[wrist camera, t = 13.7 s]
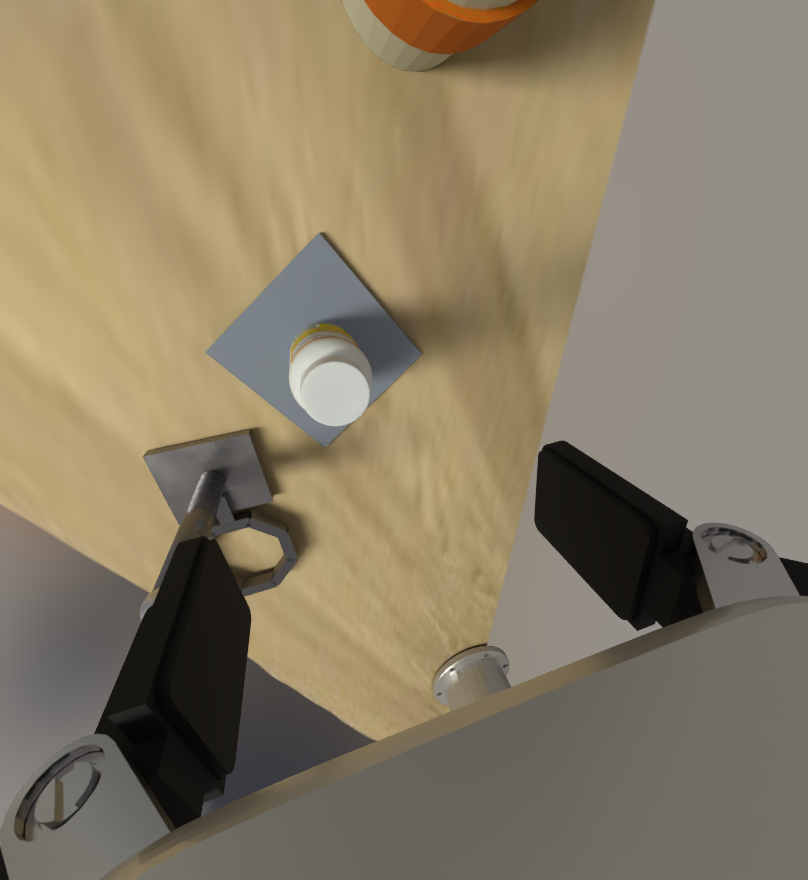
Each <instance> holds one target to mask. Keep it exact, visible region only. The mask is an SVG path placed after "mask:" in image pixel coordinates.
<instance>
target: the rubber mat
mask: <svg viewBox="0 0 808 880" xmlns="http://www.w3.org/2000/svg"><path fill="white" fill-rule="evenodd" d="M319 322H326V323H332V324H335V325H338V326H340V327H341V328H343V329H344V330H345V331H346V332H347V333H348V334H349V335H350V336H351V337H352V339H353V340H354V341H355V343H356V344H357V345H358V347H359V348H360V350H361V351H362V352H363V354H364V355H365V357H366V358H367V360H368V362H369V364H370V367H371V371H372V388H371V392H370V400H369V403H368V406H369V405H370V404H371V403H372V402H373V401H374V400H375V399H376V398H377V397H378V396H379V395H380V394H381V393H382V392H383V391H384V390H386V389H387V388H388V387H389V386H390V385H391V384H392V383H393V382H394V381H395V380H396V379H397V378H398V377H399V376H400V375H401V374H402V373H403V372H404V371H405V370H406V369H407V368H408V367H410V366H411V365H412V364H413V363H414V362H415V361H416V360H417V359H418V358H419V357H420V356H421V355H422V354H421V353H420V352H419V350H418V349H417V348H416V347H415V346H414V344H413V343H412V342H411V341H410V340H409V339H408V337H407V336H406V335H405V334H404V333H403V331H402V330H401V329H400V328H399V327H398V325H397V324H396V323H395V322H394V321H393V320H392V318H391V317H390V316H389V315H388V314H387V312H386V311H385V310H384V309H383V308H382V307H381V305H380V304H379V303H378V302H377V301H376V299H375V298H374V297H373V296H372V295H371V293H370V292H369V291H368V290H367V289H366V288H365V286H364V285H363V284H362V283H361V282H360V280H359V279H358V278H357V277H356V276H355V275H354V273H353V272H352V271H351V270H350V269H349V267H348V266H347V265H346V264H345V263H344V262H343V260H342V259H341V258H340V257H339V256H338V254H337V253H336V252H335V251H334V250H333V248H332V247H331V246H330V245H329V244H328V243H327V241H326V240H325V239H324V238H323V237H322V235H321V234H320V233H318V234H317V235H316V236H315V237H314V238H313V240H312V241H311V242H310V243H309V244H308V245H307V246H306V247H305V248H304V249H303V250H302V251H301V252H300V253H299V254H298V255H297V256H296V257H295V258H294V259H293V261H292V262H291V263H290V264H289V265H288V266H287V267H286V268H285V269H284V270H283V271H282V272H281V273H280V274H279V275H278V276H277V277H276V278H275V279H274V281H273V282H272V283H271V284H270V285H269V286H268V287H267V288H266V289H265V290H264V291H263V292H262V293H261V294H260V295H259V296H258V297H257V298H256V299H255V300H254V302H253V303H252V304H251V305H250V306H249V307H248V308H247V309H246V310H245V311H244V312H243V313H242V314H241V315H240V316H239V317H238V318H237V319H236V320H235V322H234V323H233V324H232V325H231V326H230V327H229V328H228V329H227V330H226V331H225V332H224V333H223V334H222V335H221V336H220V337H219V338H218V339H217V340H216V342H215V343H214V344H213V345H212V346H211V347H210V348H209V349H208V350H207V351H206V353H207V354H208V355H209V356H211V357H212V358H213V359H214V360H216V361H217V362H218V363H219V364H221V365H222V366H223V367H224V368H226V369H227V370H228V371H229V372H231V373H232V374H233V375H234V376H236V377H237V378H238V379H239V380H241V381H242V382H243V383H244V384H246V385H247V386H248V387H249V388H251V389H252V390H253V391H254V392H256V393H257V394H258V395H260V396H261V397H262V398H263V399H265V400H266V401H267V402H268V403H270V404H271V405H272V406H273V407H275V408H276V409H277V410H278V411H280V412H281V413H282V414H283V415H285V416H286V417H287V418H288V419H290V420H291V421H292V422H293V423H295V424H296V425H297V426H298V427H300V428H301V429H302V430H303V431H305V432H306V433H307V434H308V435H310V436H311V437H312V438H313V439H315V440H316V441H317V442H319V443H320V444H321V445H322V446H324V447H326V446H327V445H328V444H329V443H330V442H331V441H332V440H333V439H334V438H335V437H337V436H338V435H339V434H340V433H341V432H342V431H343V430H344V429H345V428H346V427H347V426H348V425H349V424H350V423H349V424H346V425H342V426H328V425H324V424H322V423H320V422H318V421H316V420H314V419H313V418H312V417H311V416H310V415H309V414H308V413H307V411H306V410H305V409H303V408H302V407H301V406H300V405H299V404H298V402H297V401H296V399H295V398H294V396H293V394H292V391H291V388H290V384H289V367H290V348H291V344H292V342H293V340H294V338H295V336H296V335H297V334H298V333H299V332H300V331H301V330H302V329H303V328H305V327H306V326H308V325H311V324H314V323H319ZM368 406H367V407H368Z"/></svg>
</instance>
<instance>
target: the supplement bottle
mask: <svg viewBox="0 0 808 880" xmlns="http://www.w3.org/2000/svg"><path fill="white" fill-rule="evenodd" d="M289 384H290V388H291V391H292V394H293V396H294V398H295V399H296V401H297V402H298V404H299V405H300V406H301V407H302V408H303V409H305V410H306V411H307V413H308V414H309V415H310V416H311V417H312V418H313V419H314V420H316V421H318V422H320V423H322V424H324V425H328V426H342V425H346V424H349V423H352V422H353V421H355V420H357V419H358V418H359V417H360V416H361V415H362V414H363V413H364V411H365V410H366V408H367V406H368V403H369V400H370V392H371V388H372V371H371V367H370V364H369V362H368V360H367V358H366V357H365V355H364V354H363V352H362V351H361V350H360V348H359V347H358V345H357V344H356V343H355V341H354V340H353V339H352V337H351V336H350V335H349V334H348V333H347V332H346V331H345V330H344V329H343V328H341V327H340V326H338V325H335V324H332V323H326V322H319V323H314V324H311V325H308V326H306V327H305V328H303V329H302V330H301V331H300V332H299V333H298V334H297V335H296V336H295V338H294V340H293V342H292V344H291V348H290V367H289Z"/></svg>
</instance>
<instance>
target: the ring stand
mask: <svg viewBox="0 0 808 880" xmlns="http://www.w3.org/2000/svg"><path fill="white" fill-rule="evenodd" d="M143 458H144V460H145V462H146V464H147V466H148V468H149V470H150V471H151V473H152V475H153V477H154V479H155V481H156V483H157V485H158V486H159V488H160V490H161V492H162V494H163V496H164V498H165V499H166V501H167V503H168V505H169V507H170V509H171V511H172V513H173V514H174V516H175V518H176V520H177V522H178V524H179V525H180V527H179V529H178V532H177V534H176V536H175V539H174V541H173V543H172V546H171V548H170V551H169V553H168V555H167V558H166V560H165V562H164V565H163V567H162V569H161V572H160V574H159V577H158V579H157V581H156V584H155V586H154V588H153V591H152V592H151V593H150V594H149V595H148V596H147V597H146V599H145V600H144V602H143V604H142V606H141V609H140V619H141V621H142V619H143V617H144V614H145V613H146V611H147V609H148V608H149V607H150V606H152V605H153V603H154V601H155V598H156V596H157V593H158V591H159V588H160V586H161V583H162V581H163V579H164V576H165V574H166V571H167V569H168V566H169V564H170V561H171V559H172V556H173V554H174V551H175V549H176V547H177V545H178V543H179V542H181V541H185V540H189V539H193V538H196V537H200V536H206V537H207V538H208V539H209V540H211V539H213V538H214V536H217V535H221V534H224V533H228V532H232V531H236V530H240V529H243V528H247V527H250V528H252V529H255V530H258V531H261V532H263V533H266V534H269V535H272V536H275V537H277V538H278V539H279V541H280V544H281V547H282V549H283V552H284V556H283V557H282V558H281V560H280V561H279V562H278V564H277V565H276V566H275V568H274V569H273V571H272V572H269V573H266V574H262V575H259V576H255V577H252V578H248V579H245V580H239V579H236V578H235V579H236V582H237V584H238V586H239V588H240V590H241V592H242V594H243V596H248V595H251V594H254V593H258V592H261V591H264V590H268V589H271V588H274V587H277V585H278V586H279V584H280V583H281V582H282V580H283V579H284V578H285V576H286V575H287V574H288V572H289V571H290V570H291V568H292V567H293V566H294V564H295V563H296V562H297V559H298V557H297V548H296V545H295V543H294V540H293V537H292V534H291V531H290V528H289V525H287V523H285V522H283V521H280V520H277V519H275V518H272V517H270V516H267V515H264V514H262V513H259V512H257V511H254V510H252V511H250V510H247V511H243V512H239V513H237V512H236V511H238V510H241V509H245V508H249V507H253V506H257V505H261V504H265V503H269V502H273V496H274V495H273V492H272V490H271V487H270V484H269V481H268V478H267V475H266V473H265V470H264V467H263V464H262V461H261V459H260V456H259V453H258V450H257V447H256V445H255V442H254V439H253V436H252V433H251V430H250V429H248V430H243V431H239V432H234V433H229V434H225V435H220V436H215V437H210V438H206V439H201V440H196V441H192V442H187V443H182V444H178V445H173V446H168V447H164V448H159V449H154V450H150V451H147V452H146V453H145V454H144V456H143ZM216 516H217V518H216Z"/></svg>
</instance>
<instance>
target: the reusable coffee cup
mask: <svg viewBox="0 0 808 880" xmlns="http://www.w3.org/2000/svg"><path fill="white" fill-rule="evenodd" d="M537 1H538V0H342V2H343V4H344V7H345V10H346V13H347V15H348V17H349V19H350V21H351V23H352V25H353V26H354V28H355V30H356V32H357V33H358V35H359V36H360V37H361V39H362V40H363V42H364V43H365V44H366V46H367V47H368V48H369V49H370V50H371V51H372V52H373V53H374V54H375V55H376V56H377V57H378V58H380V59H381V60H383V61H385V62H386V63H388V64H389V65H391V66H393V67H396V68H398V69H401V70H404V71H416V72H418V71H423V70H428V69H431V68H433V67H435V66H437V65H439V64H441V63H442V62H443V61H445V60H446V59H447V58H448V57H450V56H451V55H452V54H453V53H458V52H463V51H467V50H469V49H471V48H473V47H475V46H476V45H478V44H480V43H482V42H484V41H485V40H487V39H488V38H489V37H491V36H492V35H493V34H495V33H496V32H497V31H499V30H500V29H501V28H503V27H504V26H506V25H507V24H508V23H510V22H511V21H512V20H514V19H515V18H516V17H518V16H519V15H520V14H522V13H523V12H525V11H526V10H527V9H529V8H530V7H531V6H532V5H533V4H535V3H536V2H537Z"/></svg>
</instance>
